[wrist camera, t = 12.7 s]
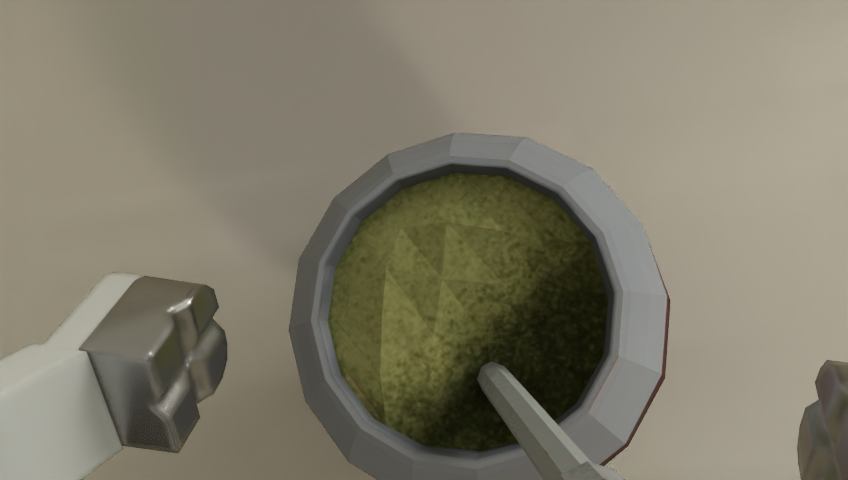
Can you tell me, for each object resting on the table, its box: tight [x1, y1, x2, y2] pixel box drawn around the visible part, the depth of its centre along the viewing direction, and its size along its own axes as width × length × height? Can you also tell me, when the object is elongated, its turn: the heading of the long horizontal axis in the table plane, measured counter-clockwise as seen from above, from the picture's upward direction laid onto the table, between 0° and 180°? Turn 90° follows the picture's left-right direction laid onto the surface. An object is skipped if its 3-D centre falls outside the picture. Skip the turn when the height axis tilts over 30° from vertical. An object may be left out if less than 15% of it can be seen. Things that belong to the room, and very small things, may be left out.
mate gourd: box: [289, 133, 670, 480], centre depth 13 cm, size 8×8×15 cm
